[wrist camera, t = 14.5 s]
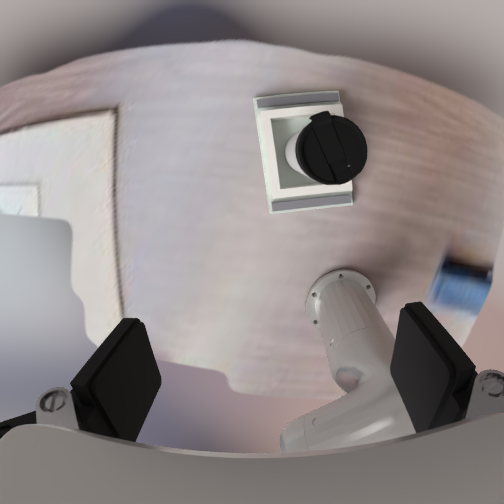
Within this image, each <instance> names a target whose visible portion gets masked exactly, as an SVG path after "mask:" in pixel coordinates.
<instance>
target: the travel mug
mask: <svg viewBox="0 0 504 504" xmlns="http://www.w3.org/2000/svg"><path fill="white" fill-rule="evenodd" d="M309 119H311V122H310V123H308V124H307V125H306V126H305V127H303V128H302V129H301V130H300V131H298V132H297V133H296V134H295V135H293V136H292V137H291V138H290V139H289V140H288V142H287V144H286V147H285V158H286V161H287V163H288V164H289V165H290V167H291V168H293V169H294V170H295V171H297V172H299V173H301V174H303V175H305V176H307V177H309V178H310V179H312V180H314V181H316V182H319V183H322V184H325V185H341V184H344V183H347V182H349V181H351V180H352V179H353V178H354V177H355V176H357V175H358V174H359V173H360V172H361V171H362V169H363V167H364V165H365V162H366V159H367V144H366V140H365V137H364V135H363V133H362V132H361V130H360V129H359V127H358V126H357V125H356V124H354V123H353V122H352V121H350V120H349V119H347V118H345V117H342V116H337V115H330V113H329V111H323V112H320V113H317V114H314V115H312V116H311V117H310V118H309Z"/></svg>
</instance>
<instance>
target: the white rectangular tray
mask: <svg viewBox="0 0 504 504" xmlns="http://www.w3.org/2000/svg"><path fill="white" fill-rule="evenodd" d="M253 102H254V109H255V115H256V122H257V128H258V135H259V142H260V148H261V155H262V162H263V169H264V176H265V183H266V191H267V198H268V205H269V213H270V214H277V213H285V212H294V211H303V210H311V209H320V208H330V207H339V206H349V205H353V202H352V191H353V190H352V180H351V181H349V182H347V183H344V184H341V185H325V184H322V183H319V182H316V181H314V180H312V179H310V178H309V177H307V176H305V175H303V174H301V173H299V172H297V171H295V170H294V169H293V168H291V167H290V165H289V164H288V163H287V161H286V158H285V147H286V144H287V142H288V140H289V139H290V138H291V137H292V136H293V135H295V134H296V133H297V132H298V131H300V130H301V129H302V128H303V127H305V126H306V125H307V124H308V123H310V122H311V119H309V118H310V117H311V116H312V115H314V114H317V113H320V112H323V111H329V113H330V115H337V116H342V117H344V114H343V107H342V104H341V101H340V95H339V91H318V92H303V93H291V94H281V95H272V96H264V97H256V98H253Z"/></svg>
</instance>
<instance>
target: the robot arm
mask: <svg viewBox="0 0 504 504" xmlns="http://www.w3.org/2000/svg"><path fill="white" fill-rule="evenodd" d="M340 274H341V275H340ZM367 285H368V286H367ZM313 292H315V293H313ZM375 301H376V296H375V291H374V288H373V286H372V284H371V282H370V281H369V280H368V279H367V278H366V277H365V276H364V275H363V274H361V273H359V272H357V271H354V270H348V269H342V270H336V271H332V272H330V273H328V274H326V275H324V276H322V277H321V278H320V279H318V280H317V281H316V282H315V283H314V285H313V286H312V287H311V289H310V291H309V293H308V295H307V299H306V312H307V316H308V319H309V320H310V322H311V324H312V325H313V326H314V327H315V328H317V329H318V330H319V331H321V334H322V338H323V342H324V346H325V350H326V354H327V358H328V362H329V366H330V370H331V374H332V377H333V379H334V380H335V382H336V384H337V385H338V386H339V387H340V388H341V389H342V390H344V391H345V392H347V393H348V394H346V395H344V396H342V397H341V398H339V399H337V400H335V401H333V402H331V403H329V404H326V405H324V406H322V407H320V408H318V409H316V410H313V411H311V412H309V413H307V414H305V415H302V416H300V417H298V418H297V419H294V420H293V421H291V422H290V423H288V424H287V425H286V426H285V427H284V429H283V430H282V433H281V435H280V451H281V453H265V454H264V453H263V454H262V453H259V454H258V453H250V454H249V453H221V452H220V453H219V452H206V451H194V450H184V449H176V448H168V447H161V446H154V445H148V444H143V443H137V442H135V441H136V439H137V437H138V434H139V432H140V430H141V428H142V426H143V423H144V421H145V419H146V417H147V414H148V412H149V410H150V408H151V406H152V403H153V401H154V399H155V397H156V395H157V392H158V390H159V388H160V386H161V375H160V372H159V369H158V366H157V363H156V360H155V357H154V354H153V351H152V348H151V345H150V341H149V338H148V335H147V331H146V328H145V325H144V323H143V322H140V320H139V319H138V318H123V319H122V320H121V321H120V323H119V324H118V325H117V326H116V327H115V329H114V330H113V331H112V332H111V333H110V334H109V336H108V337H107V338H106V339H105V340H104V342H103V343H102V344H101V345H100V347H99V348H98V349H97V350H96V352H95V353H94V354H93V355H92V356H91V358H90V359H89V360H88V361H87V363H86V364H85V365H84V366H83V368H82V369H81V370H80V371H79V373H78V374H77V375H76V376H75V378H74V379H73V380H72V381H71V383H70V384H71V386H72V388H73V389H72V390H71V391H68V390H67V389H65V388H63V387H56V388H51V389H49V390H47V391H45V392H44V393H42V394H41V395H40V397H39V398H38V400H37V402H36V411H33V412H30V413H28V414H25V415H21V416H18V417H15V418H12V419H9V420H6V421H3V422H1V423H0V504H504V373H502V372H500V371H497V370H491V369H490V370H484V371H482V372H480V373H479V374H478V373H477V372H476V371H475V368H476V366H475V365H474V364H473V362H472V361H471V360H470V358H469V357H468V356H467V355H466V353H465V352H464V351H463V350H462V348H461V347H460V346H459V345H458V344H457V342H456V341H455V340H454V339H453V338H452V336H451V335H450V334H449V333H448V332H447V330H446V329H445V328H444V327H443V326H442V325H441V323H440V322H439V321H438V320H437V319H436V318H435V317H434V315H433V314H432V313H431V312H430V311H429V310H428V309H427V308H426V306H425V305H424V304H423V303H422V302H413V303H407V304H406V305H405V307H404V308H402V309H401V310H400V316H399V322H398V328H397V334H396V339H395V338H394V336H393V334H392V333H391V331H390V329H389V328H388V326H387V324H386V323H385V321H384V320H383V318H382V316H381V315H380V313H379V311H378V310H377V308H376V307H375Z"/></svg>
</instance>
